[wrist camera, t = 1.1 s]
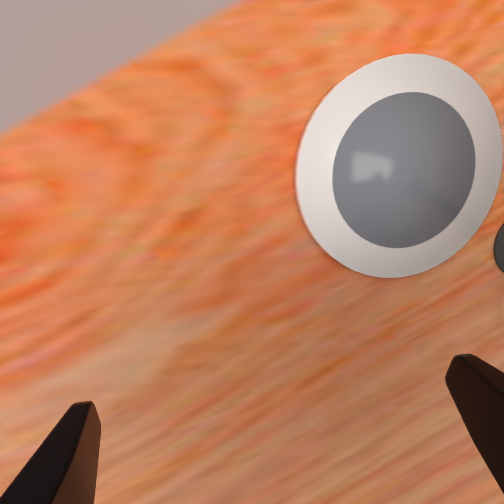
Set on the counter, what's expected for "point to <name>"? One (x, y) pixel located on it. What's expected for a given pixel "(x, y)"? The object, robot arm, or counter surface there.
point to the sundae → (500, 249)
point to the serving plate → (398, 165)
